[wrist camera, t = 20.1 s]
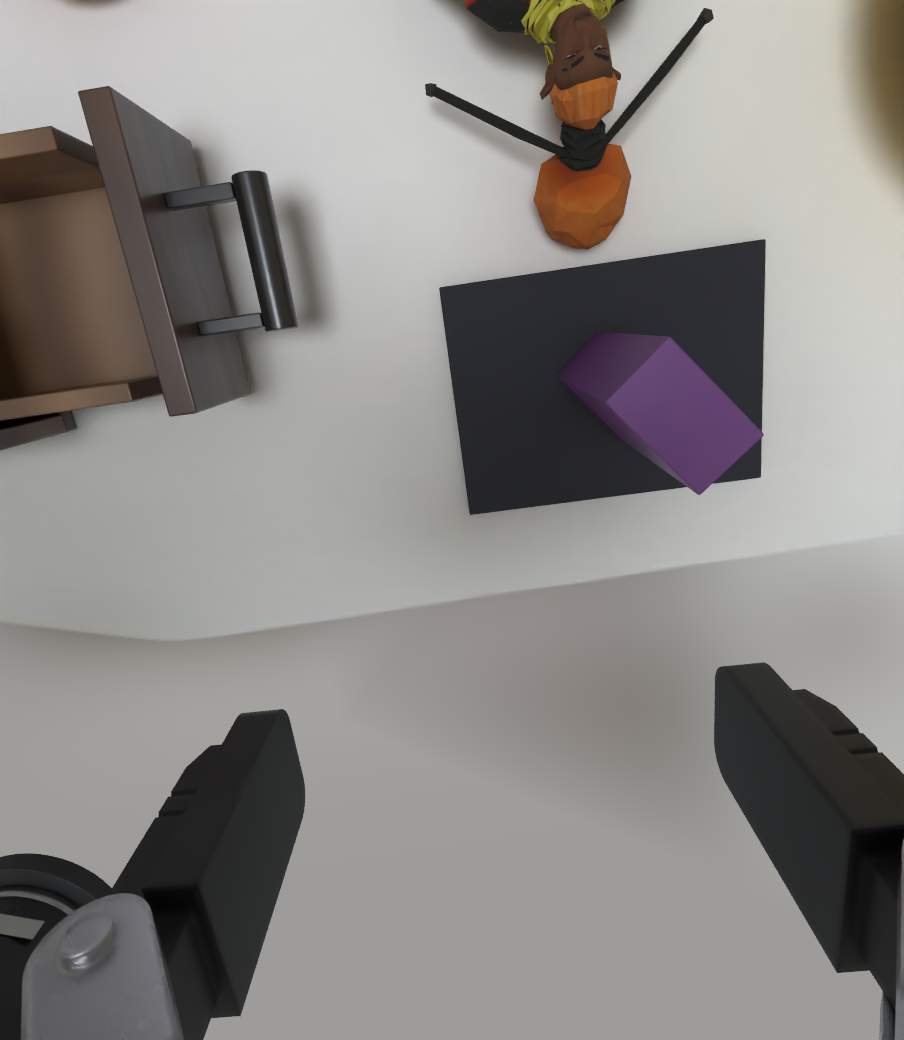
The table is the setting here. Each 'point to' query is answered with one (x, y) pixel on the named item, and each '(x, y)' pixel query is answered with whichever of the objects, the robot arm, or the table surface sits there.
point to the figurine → (573, 112)
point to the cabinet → (34, 428)
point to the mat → (561, 335)
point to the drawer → (124, 268)
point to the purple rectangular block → (661, 405)
